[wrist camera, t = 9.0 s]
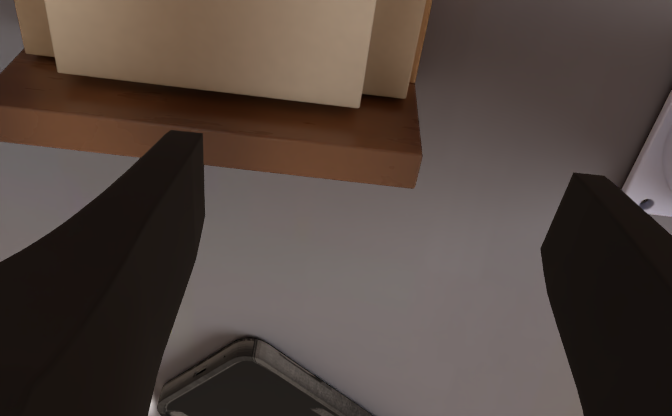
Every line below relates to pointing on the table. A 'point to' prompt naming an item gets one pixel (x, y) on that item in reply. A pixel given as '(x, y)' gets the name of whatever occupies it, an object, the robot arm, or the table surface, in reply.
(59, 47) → the doll bed
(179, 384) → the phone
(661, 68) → the table surface
